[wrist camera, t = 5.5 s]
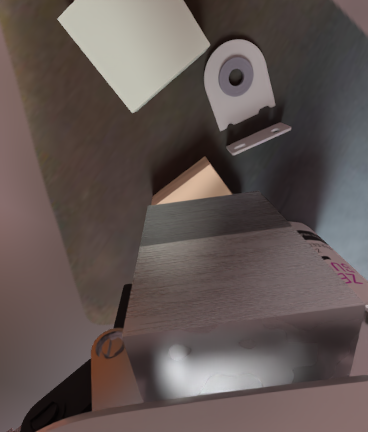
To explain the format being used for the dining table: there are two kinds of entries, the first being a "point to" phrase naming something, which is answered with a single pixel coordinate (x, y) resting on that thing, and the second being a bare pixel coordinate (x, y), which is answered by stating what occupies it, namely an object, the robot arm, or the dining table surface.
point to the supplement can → (334, 261)
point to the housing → (234, 302)
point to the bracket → (240, 90)
